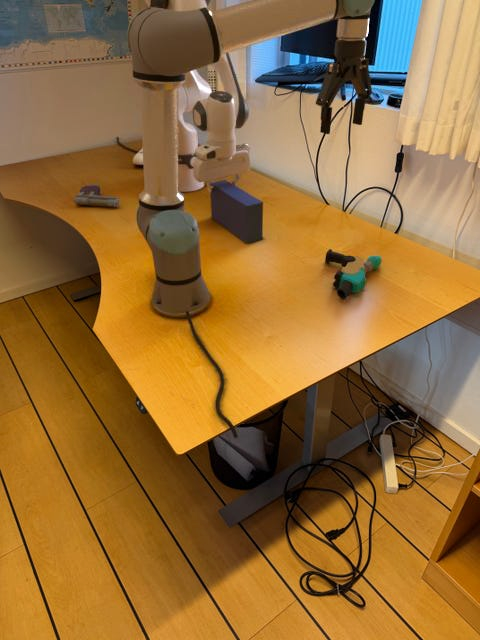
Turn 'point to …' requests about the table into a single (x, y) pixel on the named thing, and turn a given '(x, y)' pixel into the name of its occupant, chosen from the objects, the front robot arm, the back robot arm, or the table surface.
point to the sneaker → (138, 158)
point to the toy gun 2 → (351, 272)
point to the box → (237, 211)
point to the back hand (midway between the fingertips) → (223, 189)
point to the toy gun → (94, 197)
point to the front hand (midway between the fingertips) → (341, 128)
